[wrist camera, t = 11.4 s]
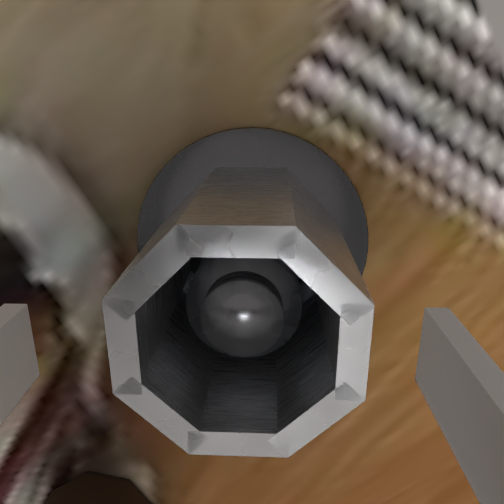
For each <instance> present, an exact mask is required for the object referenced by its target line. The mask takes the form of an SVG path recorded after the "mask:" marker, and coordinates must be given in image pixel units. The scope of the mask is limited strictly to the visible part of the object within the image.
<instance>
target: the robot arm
mask: <svg viewBox="0 0 504 504" xmlns="http://www.w3.org/2000/svg"><path fill="white" fill-rule="evenodd" d="M39 375H40V374H39V368H38V363H37V357H36V351H35V346H34V340H33V334H32V329H31V323H30V317H29V312H28V306H27V304H3V305H2V306H1V307H0V426H1V424H2V423H3V422H4V421H5V419H6V418H7V417H8V415H9V414H10V413H11V411H12V410H13V409H14V408H15V406H16V405H17V404H18V402H19V401H20V400H21V398H22V397H23V396H24V395H25V393H26V392H27V391H28V389H29V388H30V387H31V385H32V384H33V383H34V382H35V380H36V379H37V378H38V376H39ZM415 380H416V382H417V384H418V386H419V388H420V390H421V392H422V394H423V396H424V397H425V399H426V401H427V403H428V405H429V407H430V409H431V411H432V413H433V415H434V417H435V418H436V420H437V422H438V424H439V426H440V428H441V430H442V432H443V434H444V436H445V438H446V439H447V441H448V443H449V445H450V447H451V449H452V451H453V453H454V455H455V457H456V459H457V461H458V462H459V464H460V466H461V468H462V470H463V472H464V474H465V476H466V478H467V480H468V482H469V483H470V485H471V487H472V489H473V491H474V493H475V495H476V497H477V499H478V501H479V503H480V504H504V373H503V372H502V371H501V369H500V368H499V367H498V366H497V365H496V363H495V362H494V361H493V360H492V359H491V358H490V356H489V355H488V354H487V353H486V352H485V350H484V349H483V348H482V347H481V346H480V345H479V343H478V342H477V341H476V340H475V339H474V337H473V336H472V335H471V334H470V333H469V331H468V330H467V329H466V328H465V327H464V326H463V324H462V323H461V322H460V321H459V320H458V318H457V317H456V316H455V315H454V314H453V313H452V311H451V310H450V309H449V308H425V311H424V318H423V326H422V333H421V340H420V347H419V355H418V362H417V369H416V377H415Z"/></svg>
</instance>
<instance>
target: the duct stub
mask: <svg viewBox="0 0 504 504" xmlns="http://www.w3.org/2000/svg"><path fill="white" fill-rule="evenodd" d="M215 167H243V168H287V169H288V170H289V171H290V172H291V173H292V174H293V175H294V176H295V177H296V178H297V179H298V180H299V181H300V182H301V183H302V184H303V185H304V186H305V187H306V188H307V189H308V191H309V192H310V193H311V194H312V195H313V196H314V197H315V198H316V199H317V200H318V201H319V202H320V203H321V204H322V205H323V206H324V207H325V208H326V209H327V210H328V211H329V212H330V213H331V214H332V215H333V216H334V218H335V220H336V222H337V224H338V226H339V228H340V231H341V233H342V235H343V237H344V239H345V241H346V244H347V246H348V248H349V250H350V252H351V254H352V257H353V259H354V261H355V263H356V265H357V268H358V270H359V272H360V274H361V276H362V274H363V270H364V267H365V264H366V258H367V252H368V228H367V220H366V216H365V212H364V209H363V205H362V203H361V200H360V198H359V196H358V193H357V191H356V189H355V188H354V186H353V184H352V183H351V181H350V180H349V178H348V177H347V175H346V174H345V173H344V172H343V171H342V169H341V168H340V167H339V166H338V164H337V163H336V162H335V161H333V160H332V159H331V158H330V157H329V156H328V155H327V154H326V153H325V152H323V151H322V150H320V149H319V148H317V147H316V146H315V145H313V144H311V143H309V142H307V141H305V140H304V139H302V138H300V137H297V136H294V135H292V134H289V133H286V132H283V131H278V130H273V129H268V128H254V127H250V128H236V129H231V130H226V131H221V132H218V133H215V134H212V135H209V136H206V137H204V138H202V139H200V140H198V141H196V142H194V143H192V144H191V145H189V146H188V147H187V148H185V149H184V150H182V151H181V152H179V153H178V154H177V155H176V156H175V157H174V158H172V159H171V160H170V161H169V162H168V163H167V164H166V165H165V166H164V168H163V169H162V170H161V171H160V172H159V174H158V175H157V176H156V178H155V179H154V181H153V183H152V184H151V186H150V188H149V189H148V192H147V194H146V197H145V199H144V201H143V204H142V208H141V212H140V215H139V222H138V230H137V241H138V251H139V252H140V251H141V250H142V248H143V247H144V246H145V245H146V243H147V242H148V241H149V240H150V238H151V237H152V236H153V235H154V233H155V232H156V231H157V229H158V228H159V227H160V226H161V224H162V223H163V222H164V221H165V219H166V218H167V217H168V216H169V215H170V214H171V213H172V212H173V211H174V210H175V209H176V208H177V207H178V205H179V204H180V203H181V202H182V201H183V200H184V199H185V198H186V197H187V196H188V195H189V194H190V193H191V192H192V191H193V190H194V189H195V188H196V187H197V186H198V185H199V184H200V183H201V182H202V181H203V180H204V179H205V178H206V177H207V176H208V175H209V174H210V173H211V172H212V171H213V170H214V169H215ZM191 271H192V272H193V273H194V277H193V279H192V281H191V284H190V286H189V289H188V292H187V298H186V310H187V315H188V319H189V322H190V324H191V326H192V328H193V330H194V331H195V333H196V334H197V335H198V337H199V338H200V339H201V340H202V341H203V342H204V343H205V344H207V345H208V346H209V347H211V348H212V349H214V350H216V351H218V352H220V353H222V354H225V355H229V356H233V357H240V358H252V357H258V356H262V355H266V354H268V353H271V352H273V351H275V350H276V349H278V348H280V347H281V346H282V345H284V344H285V343H286V342H287V341H288V340H289V339H290V338H291V336H292V335H293V334H294V332H295V330H296V329H297V326H298V324H299V321H300V318H301V311H302V302H301V294H300V286H299V283H301V282H302V281H303V280H302V279H301V278H300V277H299V276H298V275H297V274H296V273H295V272H294V271H293V270H292V269H291V268H290V267H289V266H288V265H287V264H286V263H285V262H284V261H283V260H282V259H280V258H212V257H191Z"/></svg>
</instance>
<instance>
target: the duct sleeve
mask: <svg viewBox="0 0 504 504" xmlns="http://www.w3.org/2000/svg"><path fill="white" fill-rule="evenodd" d="M191 257H212V258H280V259H282V260H283V261H284V262H285V263H286V264H287V265H288V266H289V267H290V268H291V269H292V270H293V271H294V272H295V273H296V274H297V275H298V276H299V277H300V278H301V279H302V280H303V281H302V282H301V283H299V286H300V294H301V302H302V311H301V318H300V321H299V324H298V326H297V329H296V330H295V332H294V334H293V335H292V336H291V338H290V339H289V340H288V341H287V342H286V343H285V344H284V345H282V346H281V347H280V348H278V349H276V350H275V351H273V352H271V353H268V354H266V355H262V356H258V357H252V358H240V357H233V356H229V355H225V354H222V353H220V352H218V351H216V350H214V349H212V348H211V347H209V346H208V345H207V344H205V343H204V342H203V341H202V340H201V339H200V338H199V337H198V335H197V334H196V333H195V331H194V330H193V328H192V326H191V324H190V322H189V319H188V315H187V310H186V298H187V292H188V289H189V286H190V284H191V281H192V279H193V277H194V273H193V272H192V271H191ZM102 307H103V315H104V323H105V331H106V340H107V348H108V356H109V365H110V373H111V381H112V390H113V394H114V395H115V396H116V397H118V398H119V399H120V400H121V401H123V402H124V403H125V404H126V405H128V406H129V407H130V408H132V409H133V410H134V411H135V412H137V413H138V414H139V415H140V416H142V417H143V418H144V419H145V420H147V421H148V422H149V423H150V424H152V425H153V426H154V427H155V428H157V429H158V430H159V431H160V432H162V433H163V434H164V435H165V436H167V437H168V438H169V439H171V440H172V441H173V442H174V443H176V444H177V445H178V446H179V447H181V448H182V449H183V450H184V451H186V452H187V453H188V454H196V455H227V456H259V457H290V456H291V455H292V454H294V453H295V452H296V451H298V450H299V449H300V448H302V447H303V446H304V445H306V444H307V443H308V442H310V441H311V440H312V439H314V438H315V437H317V436H318V435H319V434H321V433H322V432H323V431H325V430H326V429H327V428H329V427H330V426H331V425H333V424H334V423H335V422H337V421H338V420H339V419H341V418H342V417H344V416H345V415H346V414H348V413H349V412H350V411H352V410H353V409H354V408H356V407H357V406H358V405H360V404H361V403H362V402H364V401H365V397H366V387H367V377H368V366H369V356H370V346H371V336H372V325H373V315H374V302H373V300H372V298H371V296H370V294H369V291H368V289H367V287H366V285H365V283H364V281H363V278H362V276H361V274H360V272H359V270H358V268H357V265H356V263H355V261H354V259H353V257H352V254H351V252H350V250H349V248H348V246H347V244H346V241H345V239H344V237H343V235H342V233H341V231H340V228H339V226H338V224H337V222H336V220H335V218H334V216H333V215H332V214H331V213H330V212H329V211H328V210H327V209H326V208H325V207H324V206H323V205H322V204H321V203H320V202H319V201H318V200H317V199H316V198H315V197H314V196H313V195H312V194H311V193H310V192H309V191H308V189H307V188H306V187H305V186H304V185H303V184H302V183H301V182H300V181H299V180H298V179H297V178H296V177H295V176H294V175H293V174H292V173H291V172H290V171H289V170H288V169H287V168H243V167H215V169H214V170H213V171H212V172H211V173H210V174H209V175H208V176H207V177H206V178H205V179H204V180H203V181H202V182H201V183H200V184H199V185H198V186H197V187H196V188H195V189H194V190H193V191H192V192H191V193H190V194H189V195H188V196H187V197H186V198H185V199H184V200H183V201H182V202H181V203H180V204H179V205H178V207H177V208H176V209H175V210H174V211H173V212H172V213H171V214H170V215H169V216H168V217H167V218H166V219H165V221H164V222H163V223H162V224H161V226H160V227H159V228H158V229H157V231H156V232H155V233H154V235H153V236H152V237H151V238H150V240H149V241H148V242H147V243H146V245H145V246H144V247H143V248H142V250H141V251H140V252H139V253H138V255H137V256H136V257H135V258H134V260H133V261H132V262H131V263H130V265H129V266H128V267H127V268H126V270H125V271H124V272H123V273H122V275H121V276H120V277H119V278H118V280H117V281H116V282H115V283H114V285H113V286H112V287H111V289H110V290H109V291H108V292H107V294H106V295H105V296H104V297H103V299H102Z"/></svg>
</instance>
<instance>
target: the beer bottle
mask: <svg viewBox="0 0 504 504" xmlns="http://www.w3.org/2000/svg"><path fill="white" fill-rule="evenodd" d="M44 504H151V503H150V502H149V501H148V500H147V499H146V498H145V497H144V495H143V494H142V493H141V492H140V491H139V490H138V489H137V488H136V487H135V486H134V485H133V483H132V482H131V481H130V480H127V479H122V478H117V477H112V476H107V475H102V474H97V473H92V472H87V473H85V474H83V475H81V476H79V477H77V478H75V479H73V480H71V481H69V482H68V483H66V484H64V485H62V486H60V487H58V488H56V489H55V490H53V491H52V492H51V493H50V495H49V497H48V498H47V500H46V501H45V503H44Z"/></svg>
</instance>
